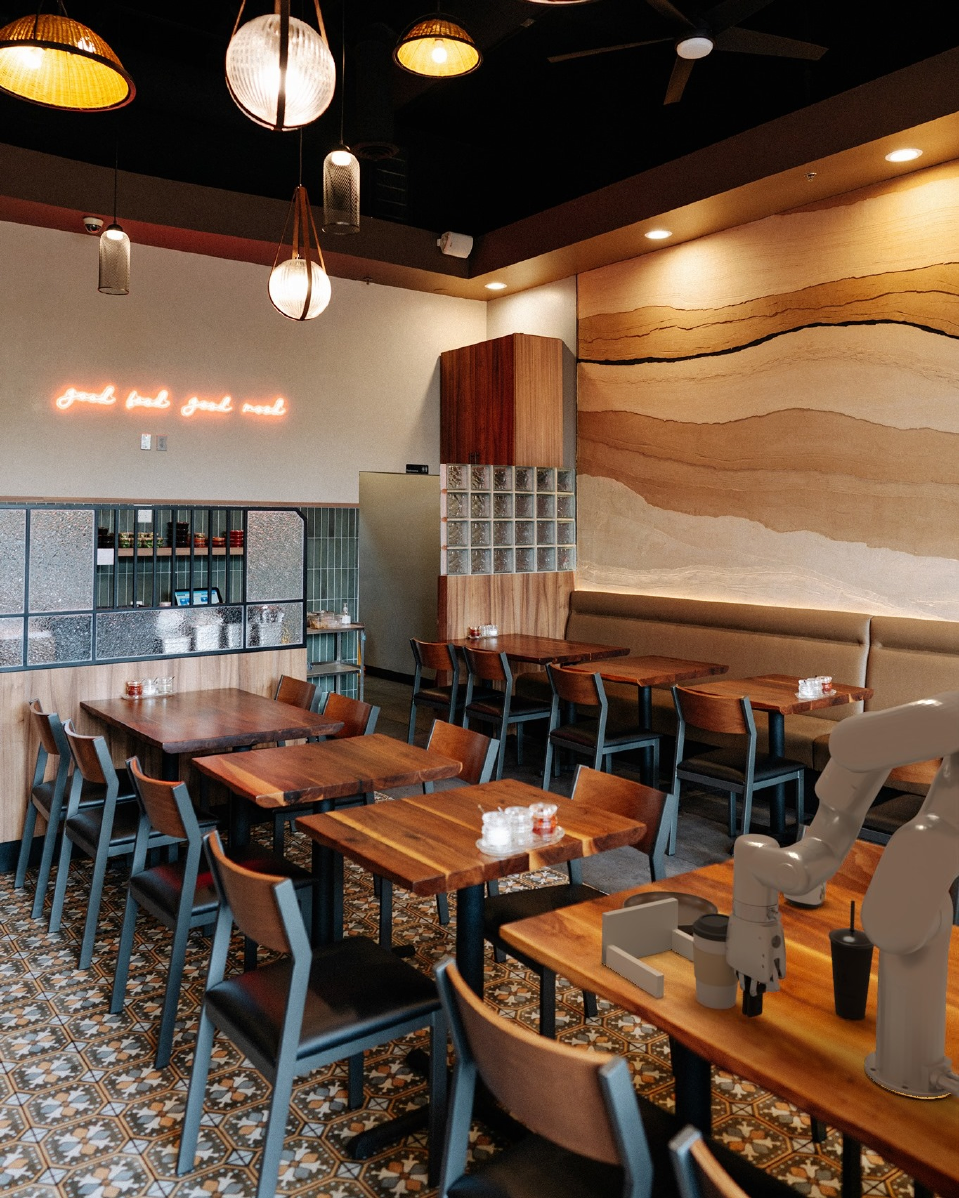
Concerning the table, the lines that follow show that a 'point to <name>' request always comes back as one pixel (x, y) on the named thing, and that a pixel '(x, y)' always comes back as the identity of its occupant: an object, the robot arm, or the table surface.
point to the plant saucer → (687, 906)
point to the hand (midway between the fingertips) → (752, 1013)
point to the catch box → (643, 941)
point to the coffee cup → (713, 962)
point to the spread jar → (809, 898)
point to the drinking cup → (850, 969)
